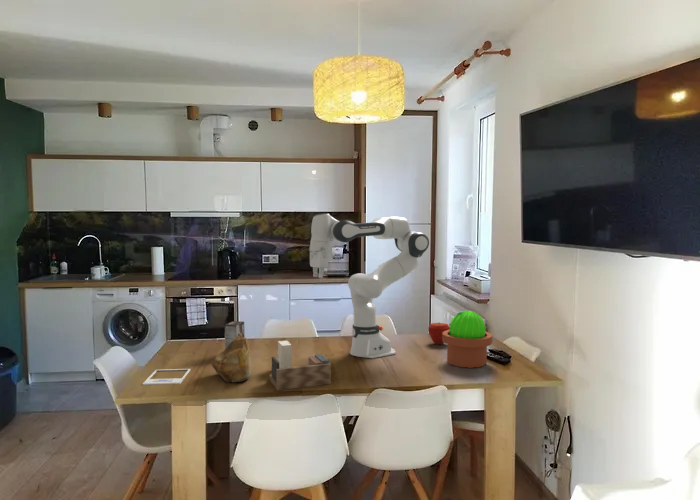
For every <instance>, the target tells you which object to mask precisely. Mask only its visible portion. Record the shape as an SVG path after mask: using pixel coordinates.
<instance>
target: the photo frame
mask: <svg viewBox="0 0 700 500" xmlns="http://www.w3.org/2000/svg"><path fill="white" fill-rule="evenodd" d="M160 371H162V372H163V371H164V372H166V371H167V372H168V371H186V372H185V373H184V375H183V376H182V377H181V378H177V377H176V378H175V377H173V378H153V376H154V375H155V374H156V373H157V372H160ZM189 372H191V368H176V369H175V368H174V369H170V368H169V369H167V368H166V369H155V370H154V371H153V372H152V373H151V374H150V375H149V376H148V377H147V378H146V380H144V381H143V382H142V385H143V386H145V385H146V386H147V385H148V386H149V385H180V384H182V382H183V381H184V380H185V378H186V376H187V375H188V374H189Z"/></svg>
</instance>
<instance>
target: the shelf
mask: <svg viewBox="0 0 700 500" xmlns="http://www.w3.org/2000/svg"><path fill="white" fill-rule="evenodd" d="M307 361H308V365H303V366H292V367H291V368H282V369H279V362H278V358H276V357H275V356H271V374H269V375H268V378H269V379H270V380H269V381H270V382H271V384H272V386H273V387H274V386H275V387H274V388H275V389H276V391H282V390H290V389H291V390H292V389H299V388H307V387H313V386H314V387H315V386H322V385H323V386H324V385H330V384H332V364H331V363H330V360H329V359H328V358H327V357H325V356H324V355H323V354H322V353H317V354H314V355H312V356H308V360H307Z"/></svg>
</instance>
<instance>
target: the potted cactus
mask: <svg viewBox="0 0 700 500" xmlns="http://www.w3.org/2000/svg"><path fill="white" fill-rule="evenodd" d="M448 325H449V327H450V330H446V331H444V332H443V333H442V341H443V342H444V343H443V344H447V345H446V347H447V348H446V349H447V350H446V361H447V363H448V364H449V363H450V365H451V364H452V365H451V366H454V365H455V367H458V366H459V368H464V367H468V368H467V369H474V368H473V367H478V368H481V366H482V367H484V366H486V365H487V355H488V352H487V350H488V347H490V346H491V345H492V344H493V334H492V333H490V332H488V331H486V324H485V320H484V319H483V318H482V316H481V315H480V314H479V313H478V312H475V311H474V310H461V311H459V312H458V313H456V314H455V315H454V316H453V317H451V321H450V323H449V324H448ZM485 364H486V365H485ZM483 365H484V366H483Z"/></svg>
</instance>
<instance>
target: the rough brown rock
mask: <svg viewBox="0 0 700 500" xmlns="http://www.w3.org/2000/svg"><path fill="white" fill-rule="evenodd" d="M251 362H252V361H251V349H250V344H249V340H248V339H247V338H246V337H245V336H244V337H242V338H241V337H240V336H238V337H236V338H235V340H233V341H232V342H231V343H230V345H228V347H227V348H226V349H225V348H224V350H223V351H220V352H219V353H217V354H216V355H214V356H213V357H212V358H211V361H210V365H211V367H212V368H213V369H214V371H215V372H216V374H218V375H219V376H220V377H221V378H222V379H223V380H224V381H225V382H226V383H230V382H231V383H240V382H245V381H246V380H248V379H250V378H251V375H252V363H251Z"/></svg>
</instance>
